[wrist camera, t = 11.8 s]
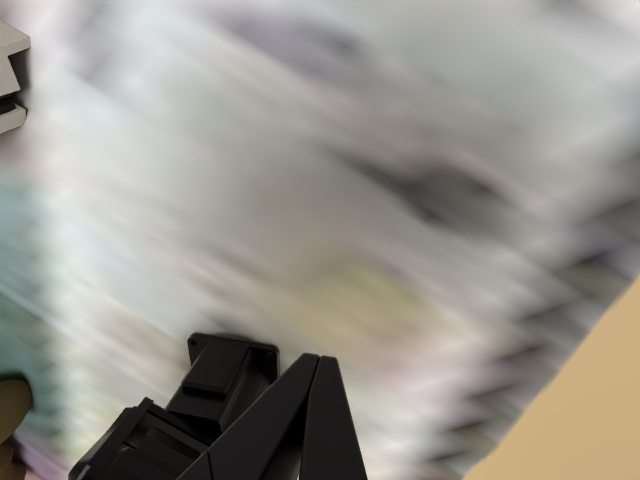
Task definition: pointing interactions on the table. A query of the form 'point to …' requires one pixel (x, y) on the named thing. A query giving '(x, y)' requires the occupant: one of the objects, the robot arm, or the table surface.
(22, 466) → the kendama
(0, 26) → the hinge
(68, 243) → the table surface
